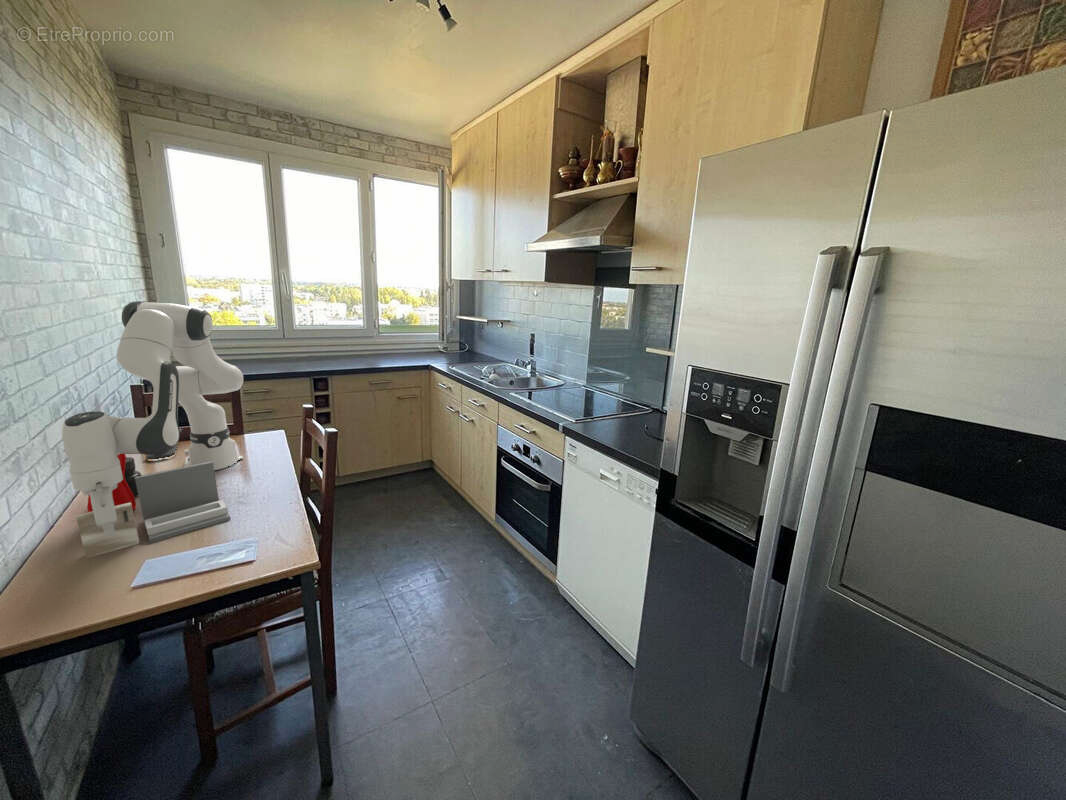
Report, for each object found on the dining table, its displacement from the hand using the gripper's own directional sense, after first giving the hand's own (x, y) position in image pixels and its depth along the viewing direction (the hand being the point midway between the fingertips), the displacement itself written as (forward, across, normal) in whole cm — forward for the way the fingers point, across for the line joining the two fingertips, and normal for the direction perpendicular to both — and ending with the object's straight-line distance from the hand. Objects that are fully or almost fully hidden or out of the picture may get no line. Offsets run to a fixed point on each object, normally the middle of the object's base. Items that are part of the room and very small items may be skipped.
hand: (108, 527), depth 110 cm
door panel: (+6, 0, 0) cm, 6 cm away
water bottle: (+6, +22, -1) cm, 23 cm away
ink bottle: (+6, +38, -5) cm, 39 cm away
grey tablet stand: (+6, +5, -16) cm, 18 cm away
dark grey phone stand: (+6, +81, -20) cm, 84 cm away
